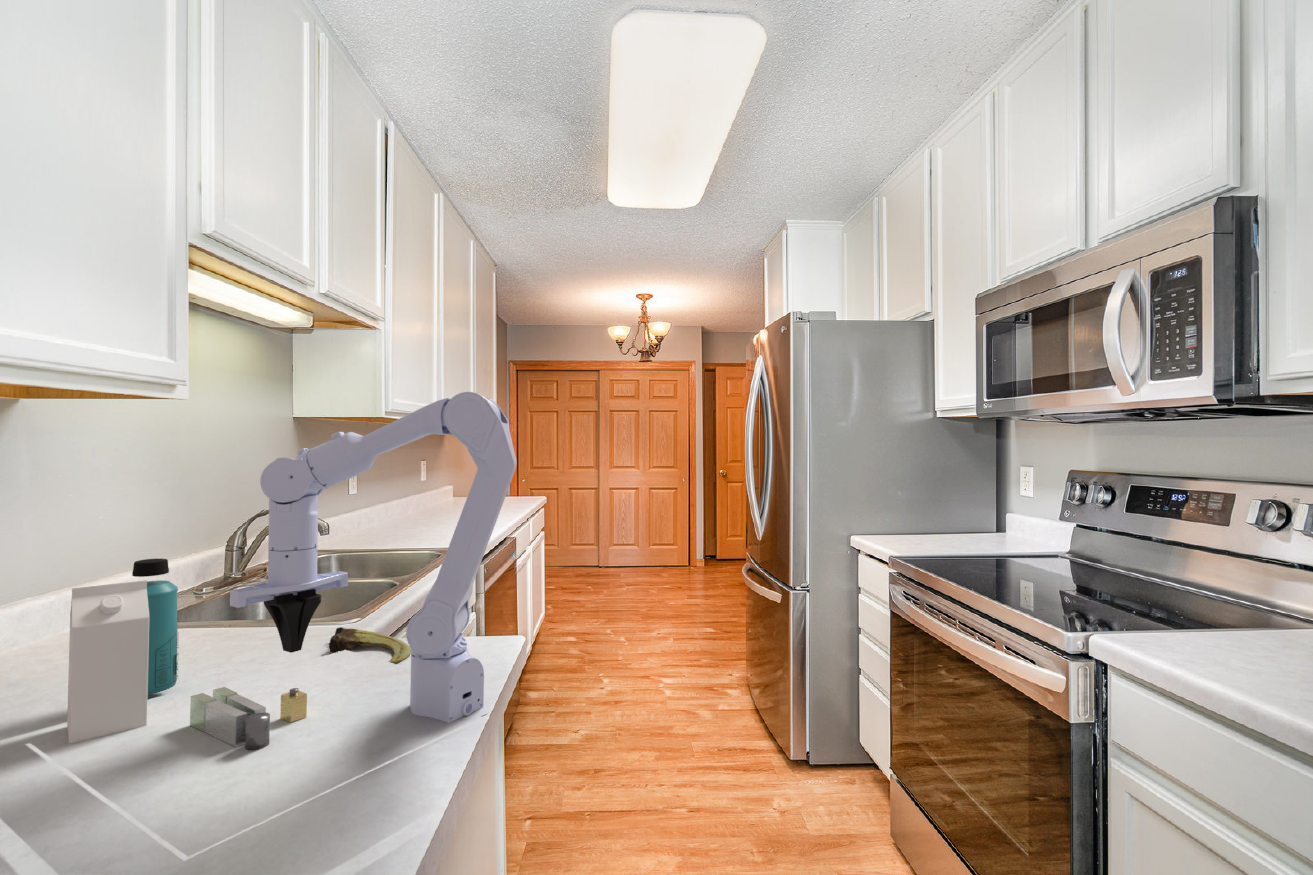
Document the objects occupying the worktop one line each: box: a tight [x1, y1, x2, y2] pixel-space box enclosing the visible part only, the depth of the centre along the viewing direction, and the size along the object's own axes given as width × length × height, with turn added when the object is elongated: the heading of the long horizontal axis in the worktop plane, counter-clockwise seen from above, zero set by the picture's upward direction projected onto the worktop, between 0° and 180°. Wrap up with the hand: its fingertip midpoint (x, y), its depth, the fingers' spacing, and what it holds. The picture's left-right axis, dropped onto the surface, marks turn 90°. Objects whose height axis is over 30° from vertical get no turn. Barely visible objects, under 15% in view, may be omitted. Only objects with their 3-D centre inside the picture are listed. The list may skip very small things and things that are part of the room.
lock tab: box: [279, 687, 308, 723], centre depth 81 cm, size 2×2×4 cm
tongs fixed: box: [189, 692, 271, 751], centre depth 76 cm, size 14×3×4 cm, turn 59°
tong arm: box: [212, 686, 267, 717], centre depth 78 cm, size 11×1×4 cm, turn 57°
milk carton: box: [66, 579, 149, 744], centre depth 79 cm, size 7×7×19 cm
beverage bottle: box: [131, 558, 180, 696], centre depth 91 cm, size 6×7×20 cm
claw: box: [328, 626, 411, 664], centre depth 114 cm, size 20×10×3 cm, turn 66°
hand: (292, 650), depth 84 cm, fingers closed
